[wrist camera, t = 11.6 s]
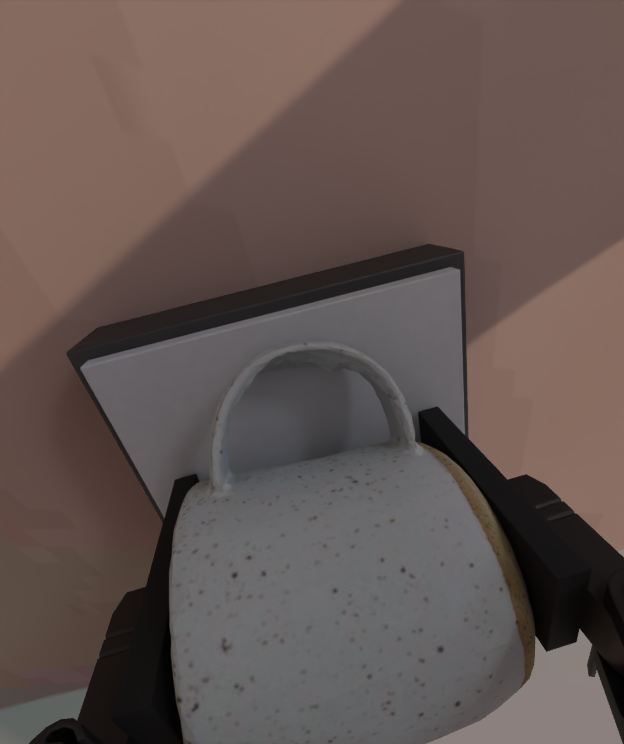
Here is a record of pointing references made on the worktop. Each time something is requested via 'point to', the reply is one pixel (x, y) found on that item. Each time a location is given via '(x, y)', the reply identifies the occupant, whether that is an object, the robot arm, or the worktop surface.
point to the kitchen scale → (285, 386)
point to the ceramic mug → (342, 588)
